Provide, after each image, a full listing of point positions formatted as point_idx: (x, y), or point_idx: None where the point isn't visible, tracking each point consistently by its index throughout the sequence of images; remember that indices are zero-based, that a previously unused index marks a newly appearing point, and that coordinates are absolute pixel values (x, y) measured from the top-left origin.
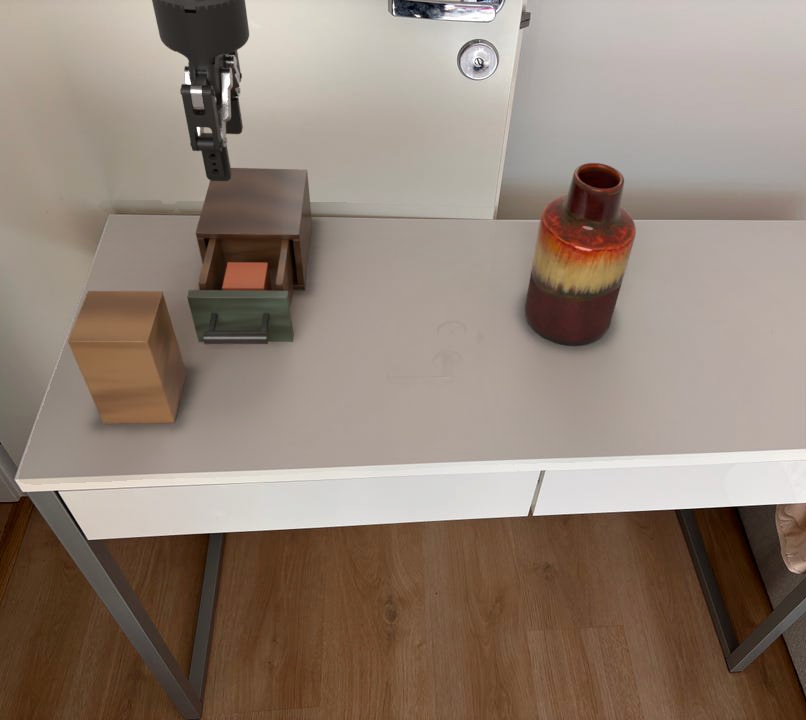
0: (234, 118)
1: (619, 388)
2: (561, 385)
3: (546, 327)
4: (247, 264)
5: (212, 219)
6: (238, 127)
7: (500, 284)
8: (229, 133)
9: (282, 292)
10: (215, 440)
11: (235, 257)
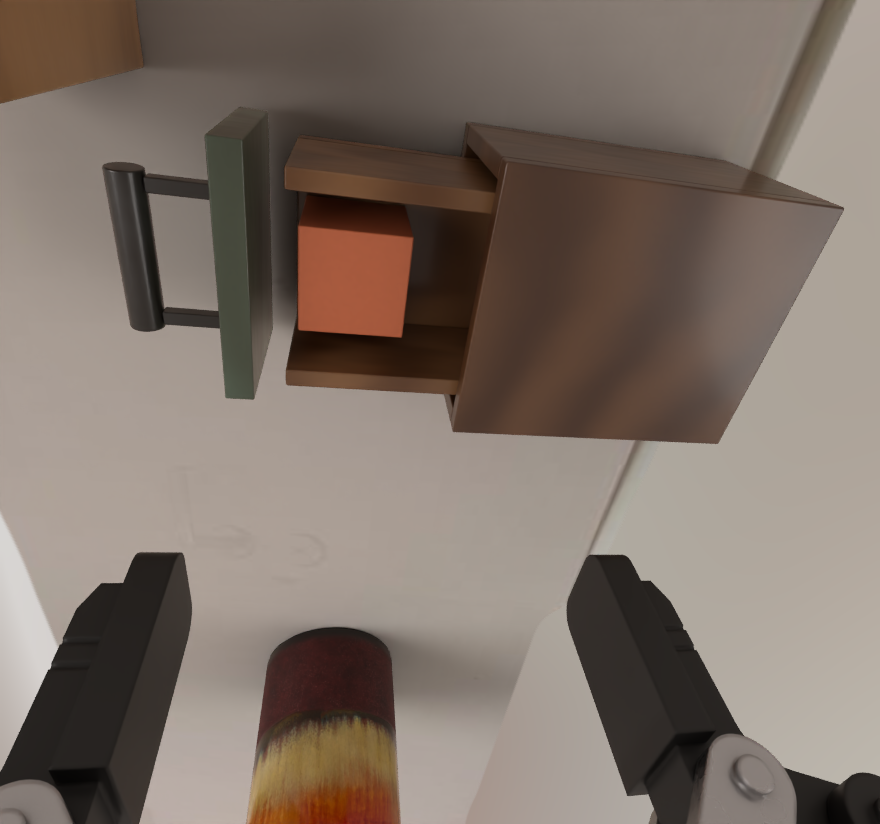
0: (597, 671)
1: (191, 693)
2: (189, 649)
3: (280, 662)
4: (397, 290)
5: (567, 214)
6: (579, 632)
7: (407, 607)
8: (581, 573)
9: (244, 389)
10: None
11: None
